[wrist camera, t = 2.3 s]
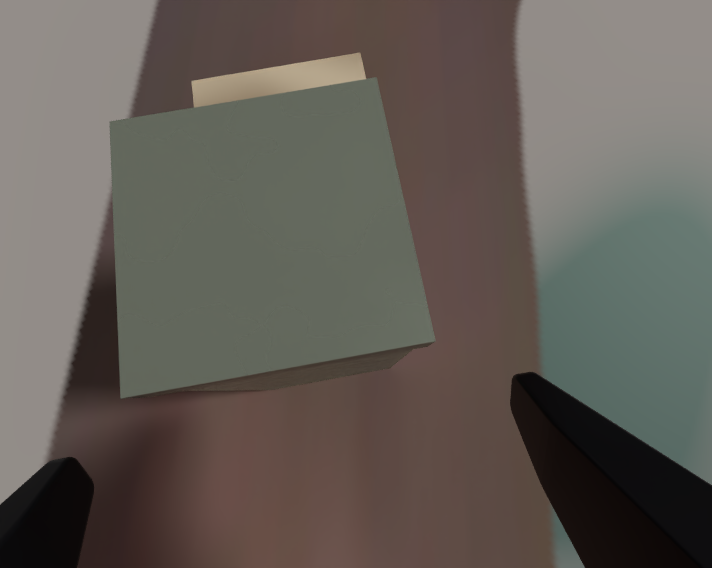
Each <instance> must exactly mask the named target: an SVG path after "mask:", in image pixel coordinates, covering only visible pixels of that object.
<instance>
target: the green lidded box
mask: <svg viewBox="0 0 712 568" xmlns="http://www.w3.org/2000/svg"><path fill="white" fill-rule="evenodd" d="M110 145H111V170H112V195H113V220H114V246H115V271H116V296H117V321H118V346H119V371H120V396H121V398H147V397H154V396H159V395H165V394H170V393H176V392H181V391H232V390H274V389H279V388H285V387H290V386H296V385H301V384H307V383H312V382H318V381H323V380H329V379H334V378H339V377H345V376H350V375H356V374H361V373H367V372H372V371H378V370H383V369H389V368H391V367H392V366H393V365H395V364H396V363H397V362H398V361H400V360H401V359H402V358H403V357H404V356H406V355H407V354H408V353H409V352H411V351H412V350H413V349H417V348H423V347H428V346H429V345H431V344H432V343H434V342H435V337H434V332H433V328H432V323H431V319H430V314H429V310H428V305H427V301H426V296H425V292H424V287H423V283H422V279H421V274H420V270H419V265H418V261H417V256H416V252H415V247H414V243H413V238H412V234H411V229H410V225H409V221H408V216H407V212H406V207H405V203H404V198H403V194H402V189H401V185H400V180H399V176H398V171H397V167H396V162H395V158H394V154H393V149H392V145H391V140H390V136H389V131H388V127H387V122H386V118H385V113H384V109H383V104H382V100H381V96H380V91H379V87H378V82H377V78H376V77H375V78H369V79H363V80H357V81H351V82H345V83H339V84H333V85H327V86H321V87H315V88H309V89H303V90H297V91H291V92H285V93H279V94H273V95H267V96H261V97H255V98H249V99H243V100H237V101H231V102H225V103H219V104H213V105H207V106H201V107H195V108H189V109H183V110H177V111H171V112H165V113H159V114H153V115H147V116H141V117H135V118H129V119H123V120H116V121H111V122H110Z"/></svg>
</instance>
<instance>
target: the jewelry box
mask: <svg viewBox="0 0 712 568" xmlns="http://www.w3.org/2000/svg"><path fill="white" fill-rule="evenodd" d="M363 79H366V77H365V72H364V68H363V63H362V59H361V54H360V53H355V54H349V55H343V56H337V57H332V58H326V59H320V60H314V61H308V62H302V63H296V64H290V65H284V66H278V67H272V68H266V69H260V70H254V71H248V72H243V73H237V74H231V75H225V76H219V77H213V78H207V79H201V80H195V81H192V90H193V100H194V108H195V107H201V106H207V105H213V104H219V103H225V102H231V101H237V100H243V99H249V98H255V97H261V96H267V95H273V94H279V93H285V92H291V91H297V90H303V89H309V88H315V87H321V86H327V85H333V84H339V83H345V82H351V81H357V80H363Z"/></svg>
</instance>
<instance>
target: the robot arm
mask: <svg viewBox="0 0 712 568" xmlns="http://www.w3.org/2000/svg"><path fill="white" fill-rule="evenodd" d="M510 406H511V411H512V414H513V417H514V419H515V421H516V424H517V426H518V429H519V431H520V434H521V436H522V439H523V441H524V444H525V446H526V449H527V451H528V454H529V456H530V459H531V461H532V464H533V466H534V469H535V471H536V473H537V476H538V478H539V481H540V483H541V485H542V487H543V489H544V491H545V493H546V495H547V497H548V499H549V501H550V503H551V504H552V506H553V508H554V510H555V512H556V514H557V516H558V518H559V520H560V521H561V523H562V525H563V527H564V529H565V531H566V533H567V535H568V536H569V538H570V540H571V542H572V544H573V546H574V548H575V549H576V551H577V553H578V555H579V557H580V559H581V561H582V563H583V565H584V566H585V568H712V485H711V484H709V483H708V482H706V481H704V480H703V479H701V478H700V477H698V476H696V475H695V474H693V473H692V472H690V471H689V470H687V469H686V468H684V467H682V466H681V465H679V464H678V463H676V462H675V461H673V460H671V459H670V458H668V457H667V456H665V455H663V454H662V453H660V452H659V451H657V450H656V449H654V448H653V447H651V446H649V445H648V444H646V443H645V442H643V441H642V440H640V439H638V438H637V437H635V436H634V435H632V434H631V433H629V432H628V431H626V430H624V429H623V428H621V427H619V426H618V425H617V424H615V423H613V422H612V421H610V420H609V419H607V418H606V417H604V416H602V415H601V414H599V413H598V412H596V411H595V410H593V409H591V408H590V407H588V406H587V405H585V404H583V403H582V402H580V401H579V400H577V399H576V398H574V397H573V396H571V395H570V394H568V393H566V392H565V391H563V390H562V389H560V388H559V387H557V386H555V385H554V384H552V383H551V382H549V381H548V380H546V379H544V378H543V377H541V376H540V375H538V374H536V373H534V372H526V373H521V374H516V375H514V376H513V378H512V385H511V398H510ZM93 494H94V484H93V481H92V479H91V478H90V476H89V475H88V474H87V472H86V471H85V470H84V468H83V467H82V466H81V465H80V463H79V462H78V461H77V460H76V459H75V458H73V457H67V458H61V459H56V460H52V461H50V462H48V463H47V464H45V465H44V466H43V467H42V468H41V469H40V470H39V471H37V472H36V473H35V474H34V475H33V476H32V477H31V478H30V479H29V480H27V481H26V482H25V483H24V484H23V485H22V486H21V487H20V488H18V489H17V490H16V491H15V492H14V493H13V494H12V495H11V496H10V497H9V498H7V499H6V500H5V501H4V502H3V503H2V504H1V505H0V568H77V565H78V561H79V557H80V552H81V548H82V543H83V539H84V534H85V530H86V525H87V521H88V516H89V512H90V507H91V503H92V499H93Z"/></svg>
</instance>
